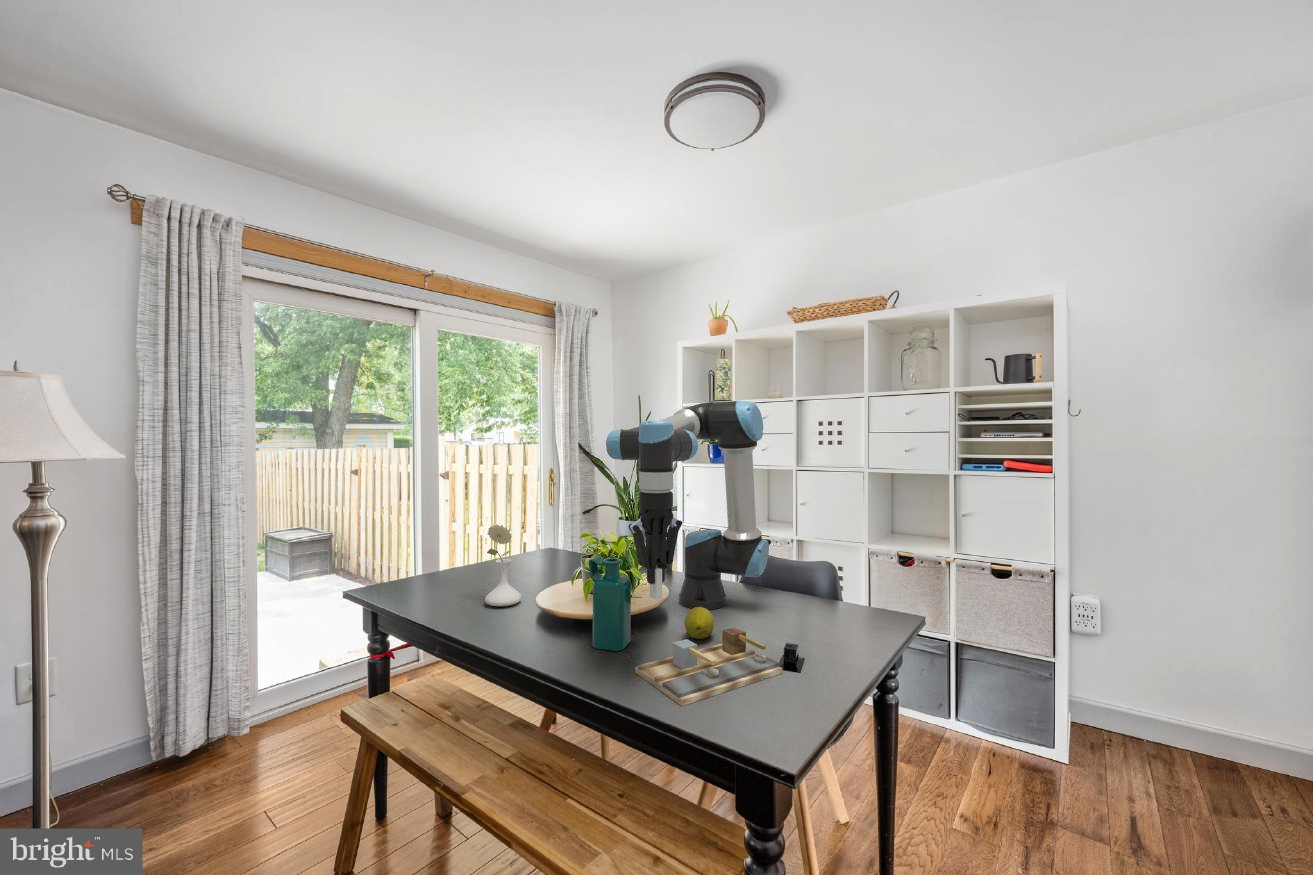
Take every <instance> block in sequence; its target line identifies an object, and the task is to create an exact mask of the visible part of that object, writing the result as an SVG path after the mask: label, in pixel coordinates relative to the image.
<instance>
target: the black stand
mask: <svg viewBox="0 0 1313 875" xmlns="http://www.w3.org/2000/svg"><path fill="white" fill-rule="evenodd" d="M799 648H800V647H799V644H795V643H790V642H786V643H785V645H784V648H783V654H782V656H780V659H779V661H778V663H779V667H781V668H782V672H783V671H785V672H789V673H796V674H801V673H802V670H803V667H804V664H805V660H806V658H805V657H802V656H799V654H800V649H799Z"/></svg>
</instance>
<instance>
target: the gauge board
mask: <svg viewBox="0 0 1313 875" xmlns="http://www.w3.org/2000/svg"><path fill="white" fill-rule="evenodd" d="M721 634H722V636H721V637H722V639H721V640H722V643H718V644H714V645H710V646H707V647H703V648H699V649H698V648H697V651H699V652H701V653H702V654H704V655H706V656H708V657H710V658H712V659H713V660H715V665H711V664H709V663H708V662H706V661H704V660H702V659H700V658H699V657H697V665H696V666H692V667H689V668H685V669H681V668H679V667H677V666H676V665H674V664H673V655H672V656H668V657H664V658H661V659H658V660H654V661H649V662H646V663H642V664H638V665H637V666H636V667H634V668H635V669H634V674H636V675H638V676H639V677H641V678H642V679H643V680H645V681H646V682H647V683H649V684H650V685H651V686H653V687H654V688H656V689H657V690H659V691H660V692H661V693H663V694H664V695H666V696H667V697H668V698H670V699H671V700H673V701H674V702H676V704H678V705H680V706H681V707H684V706H686V705H689V704H693V703H696V702H698V701H702V700H706V699H709V698H711V697H715V696H718V695H720V694H724V693H727V692H730V691H732V690H736V689H738V688H741V687H744V686H747V685H751V684H754V683H757V682H761V681H763V680H766V679H770V678H772V677H773V678H774V677H775V676H778V675H781V674H783V670H782V668H781V667H779V661H776V660H774V659H772V658H769V657H768V656H765V655H763V654H762V653H760V654H755V652H756V651H755V650H753V649H750V650H747V648H746V647H747V644H749V645H751V646H754V647H756V648H758V649H760V650H763V651H765V650H767V646H766V645H765V644H763V643H761V642H758V641H757V640H755V639H752V638H749V637H748V636H747V631H744V630H742V629H740V628H737V627H736V626H733V627H730V628H725V629H722V633H721Z"/></svg>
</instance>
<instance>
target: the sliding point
mask: <svg viewBox="0 0 1313 875" xmlns="http://www.w3.org/2000/svg"><path fill="white" fill-rule="evenodd" d="M697 650H698V644H697V643H695V642H693V641H691V640H689V639H682V640H679V641H674V642H672V656H673V664H674V665H676V666H677V667H679V668H681V669H685V668H689V667H692V666H696V665H697V657H699V658H700V659H702V660H704V661H706V662H708V663H709V664H711V665H715V660H713V659H712V658H710V657H708V656H706V655H704V654H702V653H701V652H699V651H697Z"/></svg>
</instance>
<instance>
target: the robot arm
mask: <svg viewBox="0 0 1313 875" xmlns="http://www.w3.org/2000/svg"><path fill="white" fill-rule="evenodd" d="M763 434H764V421H763V415H762V413H761V410H760V408H759V406H758V405H757V404H756V403H755V402H753V401H745V400H736V401H735V400H730V401H707V402H701V403H698V404H695V405H691V406H688V407H684V408H681V409H678V410H677V411H676V412H674V413H673V415H671V416H668V417H665V418H661V419H659V420H643V421H641V422H640V424H639V426H637V427H633V428H630V429H623V428H621V429H613V430H611V431H610V432H609V433H608V434H607V437H606V440H605V447H606V453H607V455H608V456H609V457H610V459H613V460H620V461H638V465H639V466H638V488H639V490H640V492H638V507H639V514H638V516H637V520H636V521H635V522H634V523H629V524H628V530H629V531H630V532H631V534H632V538H633V543H634V547H635V553H636V557H637V562H638V565H639V566H640V567H643V568H645V569H646V582H647V584H649V597H650V598H652V599H654V600H656V601H658V600H661V599H663V583H665V580H666V575H665V574H666V569H668V567H669V566H668V565H672V563H673V561H674V557H675V556H674V555H675V552H676V546H677V541H678V537H679V536H678V535H679V531H680V529H681V528H682V526H683V521H682V520H679V519H677V518H676V517H674V513H673V507H674V493H673V492H672V490H673V489H674V462H683V463H684V462H685V461H689V460H691V459H692V458H693V457H694V456H696V454H697V453H698V449H699V442H698V440H704V441H717V447H718V449H719V450H720V451H722V452H723V464H724V466H723V467H724V478H725V480H724V482H725V494H726V495H725V497H726V499H725V500H726V515H727V517H726V518H727V529H726V530H725V531H723V533H722V531H721V529H718V528H717V529H714V528H713V529H701V530H695V531H691V532H688V533H687V534H686V535H685V538H684V579H683V583H682V586H681V589H680V592H679V595H678V603H679V604H680V605H681V606H682V607H686V608H689V609H693V608H695V607H703V608H705V609H707V610H708V611H709V610H717V609H720V608H723V607H725V606H726V605H727V594H726V593H725V592H726V591H725V589H724V585H723V582H722V574H728V575H733V576H739V577H740V576H741V577H745V578H748V577H751V578H759V577H761V575H762V574H764V571H765V570H766V566H767V564H768V559H769V555H770V553H769V552H770V544H769V541H768V540H767V539H765V538H763V535H762V531H761V530H760V529H759V527H757V517H756V516H757V515H756V514H757V513H756V499H755V498H756V496H755V480H754V479H755V478H754V458H753V456H754V455H753V451H754V450H755V448H757V447H758V441H760V440H762V438H763ZM643 530H644V533H643V532H642V531H643ZM644 537H645V538H644Z"/></svg>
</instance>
